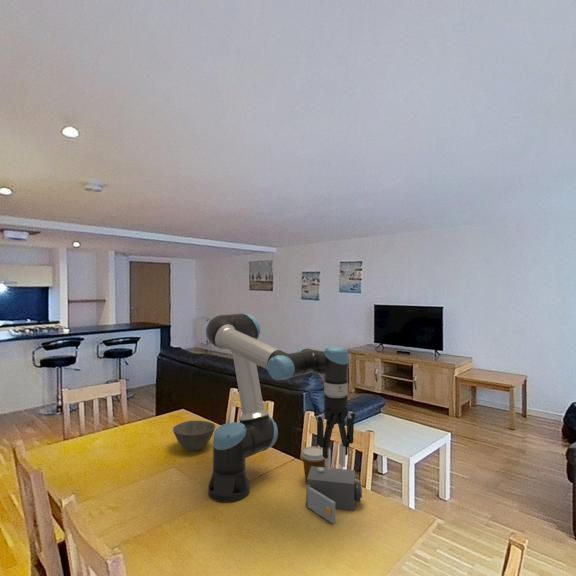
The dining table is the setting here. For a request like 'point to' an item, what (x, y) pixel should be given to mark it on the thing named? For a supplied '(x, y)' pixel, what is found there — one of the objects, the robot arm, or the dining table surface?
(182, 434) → the bowl
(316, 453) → the disposable coffee cup
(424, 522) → the dining table surface
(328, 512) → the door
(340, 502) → the camera block
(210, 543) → the dining table surface
